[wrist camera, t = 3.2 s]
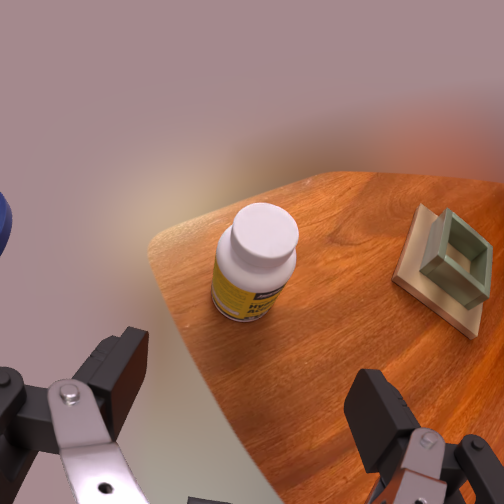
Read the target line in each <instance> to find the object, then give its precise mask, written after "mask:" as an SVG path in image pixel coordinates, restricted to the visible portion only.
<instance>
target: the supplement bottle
mask: <svg viewBox="0 0 504 504" xmlns="http://www.w3.org/2000/svg"><path fill="white" fill-rule="evenodd" d="M298 238H299V232H298V227H297V224H296V222H295V221H294V219H293V218H292V217H291V215H290V214H289V213H287V212H286V211H285V210H283V209H282V208H280V207H278V206H275V205H273V204H268V203H254V204H251V205H248V206H246V207H244V208H243V209H241V210H240V211H239V212H238V213H237V215H236V216H235V218H234V221H233V225H231V226H230V227H229V228H227V229H226V230H225V232H224V233H223V234H222V236H221V237H220V240H219V242H218V246H217V250H216V256H215V264H214V271H213V278H212V285H211V294H212V299H213V302H214V304H215V306H216V307H217V309H218V310H219V311H220V312H221V313H222V314H223V315H225V316H226V317H228V318H230V319H232V320H235V321H239V322H249V321H253V320H256V319H258V318H260V317H262V316H263V315H265V314H266V313H267V312H268V310H269V309H270V308H271V306H272V305H273V303H274V302H275V300H276V299H277V297H278V296H279V294H280V293H281V291H282V290H283V288H284V286H285V285H286V283H287V282H288V280H289V279H290V277H291V275H292V273H293V271H294V269H295V265H296V251H295V247H296V245H297V242H298Z"/></svg>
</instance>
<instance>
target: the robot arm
mask: <svg viewBox="0 0 504 504" xmlns="http://www.w3.org/2000/svg"><path fill="white" fill-rule="evenodd" d="M148 341H149V333H148V331H144V330H141V329H137V328H133V327H130V326H129V327H127V329H126V330H125V331H124V333H123V334H122V335H121V337H116V336H113V335H112V336H110V337H108V338H106V339H104V340H102V341H101V342H100V343H99V345H98V346H97V347H96V349H95V350H94V351H93V352H92V353H91V355H90V357H88V358H87V359H86V361H85V362H84V363H83V365H82V366H81V367H80V368H79V370H78V371H77V372H76V373H75V375H74V376H73V377H72V379H62V380H58V381H56V382H54V383H53V384H51V385H50V387H49V388H40V387H34V386H30V385H24V381H23V378H22V376H21V374H20V373H19V372H18V371H16V370H15V369H12V368H9V367H0V504H13V502H14V499H15V497H16V495H17V493H18V491H19V489H20V487H21V485H22V483H23V481H24V479H25V477H26V475H27V472H28V471H29V469H30V467H31V465H32V463H33V461H34V459H35V457H36V455H37V454H38V452H39V451H42V452H47V453H53V454H59V455H60V457H61V461H62V464H63V468H64V471H65V474H66V477H67V480H68V483H69V486H70V488H71V491H72V494H73V497H74V499H75V502H76V504H150V503H149V501H148V499H147V498H146V496H145V494H144V493H143V491H142V489H141V487H140V486H139V484H138V482H137V480H136V478H135V477H134V475H133V473H132V471H131V469H130V467H129V465H128V463H127V461H126V459H125V457H124V455H123V453H122V451H121V449H120V447H119V445H118V444H117V442H116V440H117V437H118V435H119V433H120V431H121V428H122V426H123V424H124V422H125V420H126V418H127V415H128V413H129V411H130V409H131V407H132V404H133V402H134V400H135V398H136V396H137V394H138V391H139V389H140V387H141V385H142V383H143V380H144V378H145V374H146V369H147V355H148ZM344 413H345V416H346V419H347V421H348V424H349V427H350V429H351V432H352V435H353V438H354V440H355V443H356V446H357V448H358V451H359V454H360V457H361V459H362V462H363V465H364V468H365V470H366V473H376V472H379V473H380V476H379V477H378V479H377V480H376V482H375V484H374V486H373V488H372V490H371V492H370V494H369V496H368V498H367V500H366V501H365V503H364V504H466V503H465V501H464V499H463V497H462V495H461V493H460V490H459V488H460V487H461V486H462V485H463V484H464V483H465V482H466V481H467V480H468V481H469V483H470V485H471V487H472V488H473V490H474V492H475V494H476V501H475V504H504V467H503V466H502V464H501V463H500V461H499V460H498V458H497V457H496V455H495V454H494V452H493V451H492V449H491V448H490V446H489V445H488V443H487V442H486V441H485V440H484V439H483V438H481V437H479V436H477V435H473V434H469V435H466V436H464V438H463V439H462V440H461V442H460V443H459V444H458V445H457V444H449V443H445V441H444V439H443V437H442V436H441V435H440V434H439V433H437V432H436V431H434V430H432V429H429V428H421V426H420V425H419V423H418V421H417V420H416V418H415V417H414V415H413V413H412V412H411V410H410V409H409V407H407V404H406V402H405V401H404V400H403V397H402V396H401V394H400V393H399V391H398V390H397V389H396V388H395V387H394V386H392V385H391V384H390V383H389V382H387V380H386V379H385V377H384V375H383V374H382V372H381V371H380V370H374V369H361V370H359V372H358V373H357V376H356V378H355V380H354V382H353V384H352V386H351V388H350V391H349V393H348V395H347V397H346V399H345V402H344ZM187 504H231V503H227V502H219V501H212V500H205V499H199V498H194V497H188V502H187Z"/></svg>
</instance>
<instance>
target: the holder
mask: <svg viewBox="0 0 504 504" xmlns="http://www.w3.org/2000/svg"><path fill="white" fill-rule="evenodd" d="M492 254H493V246H491V245H490V244H489V243H488V242H487V241H486V240H485V239H484V238H483V237H482V236H480V235H479V234H478V233H477V232H476V231H475V230H474V229H473V228H471V227H470V226H469V225H468V224H467V223H466V222H464V221H463V220H462V219H461V218H460V217H458V216H457V215H456V214H455V213H454V212H452V211H451V210H450V209H448V208H446V209H445V210H444V211H443V212H442V214H441V215H440V216H439V217H438V216H437V215H435V214H434V213H433V212H432V211H430V210H429V209H428V208H426V207H425V206H424V205H422V204H420V205H419V206H418V207H417V208H416V211H415V215H414V218H413V221H412V224H411V227H410V230H409V233H408V236H407V239H406V242H405V245H404V248H403V250H402V253H401V256H400V259H399V261H398V264H397V267H396V269H395V272H394V275H393V277H392V281H393V282H395V283H396V284H398V285H399V286H400V287H402V288H403V289H404V290H406V291H407V292H409V293H410V294H411V295H413V296H414V297H415V298H417V299H418V300H419V301H421V302H422V303H423V304H425V305H426V306H427V307H429V308H430V309H431V310H433V311H434V312H435V313H437V314H438V315H439V316H441V317H442V318H443V319H445V320H446V321H447V322H449V323H450V324H451V325H452V326H454V327H455V328H456V329H458V330H459V331H460V332H461V333H463V334H464V335H465V336H466V337H468V338H469V339H470V340H471V339H473V338H475V337H477V335H478V330H479V325H480V319H481V312H482V306H483V302H484V301H485V300H487V299H489V294H490V284H491V272H492Z"/></svg>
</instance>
